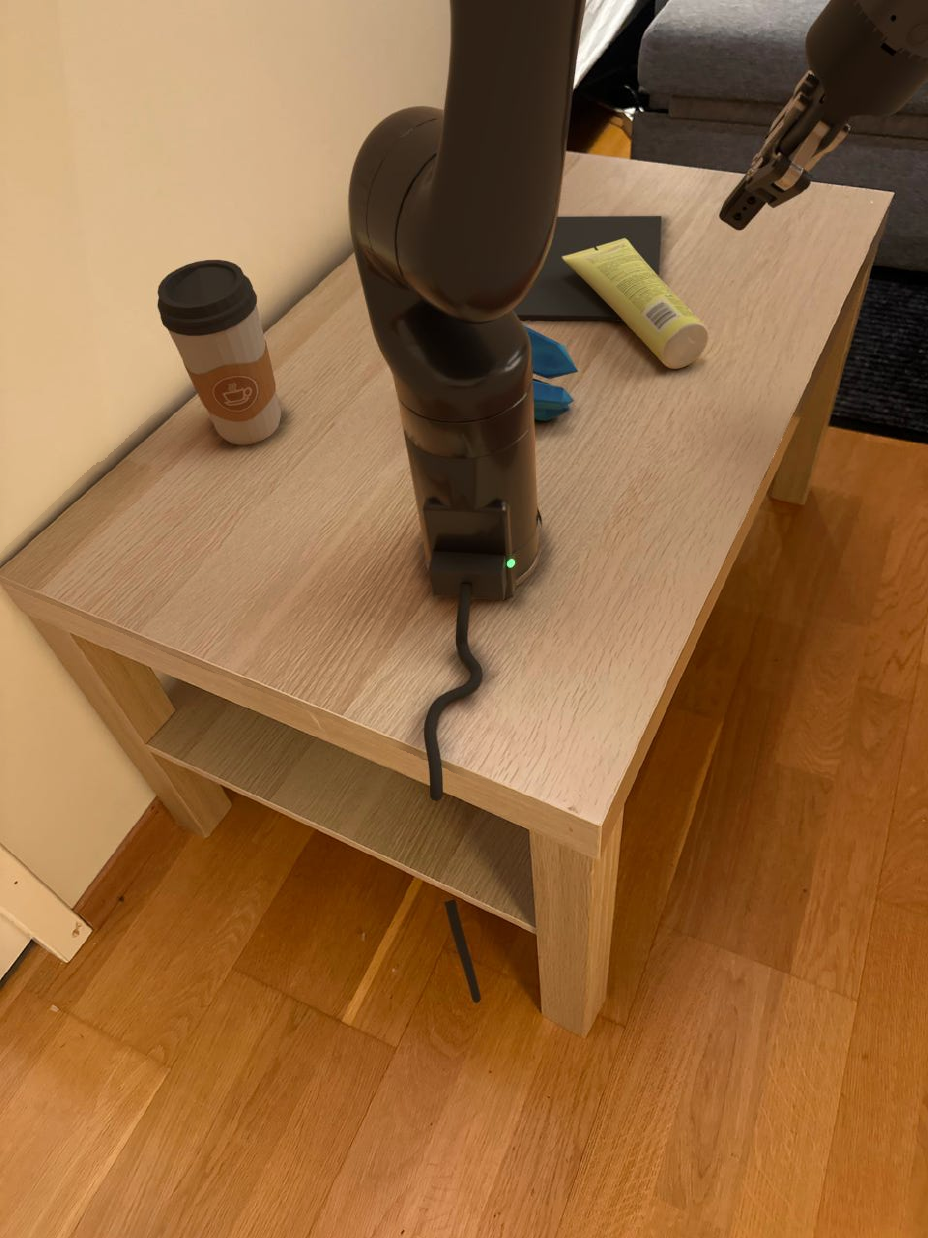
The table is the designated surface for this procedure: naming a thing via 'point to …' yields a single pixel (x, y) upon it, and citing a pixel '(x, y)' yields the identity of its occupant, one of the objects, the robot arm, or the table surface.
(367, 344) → the table surface
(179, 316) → the coffee cup
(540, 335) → the crystal
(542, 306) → the mat
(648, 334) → the tube
